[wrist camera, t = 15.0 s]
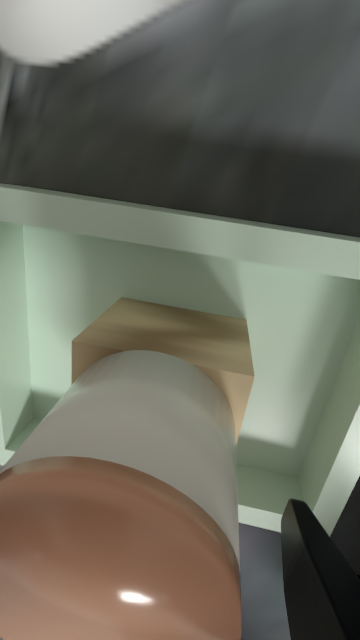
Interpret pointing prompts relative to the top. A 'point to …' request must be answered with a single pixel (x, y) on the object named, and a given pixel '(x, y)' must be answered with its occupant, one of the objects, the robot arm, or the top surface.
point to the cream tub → (124, 510)
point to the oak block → (174, 344)
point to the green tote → (200, 295)
